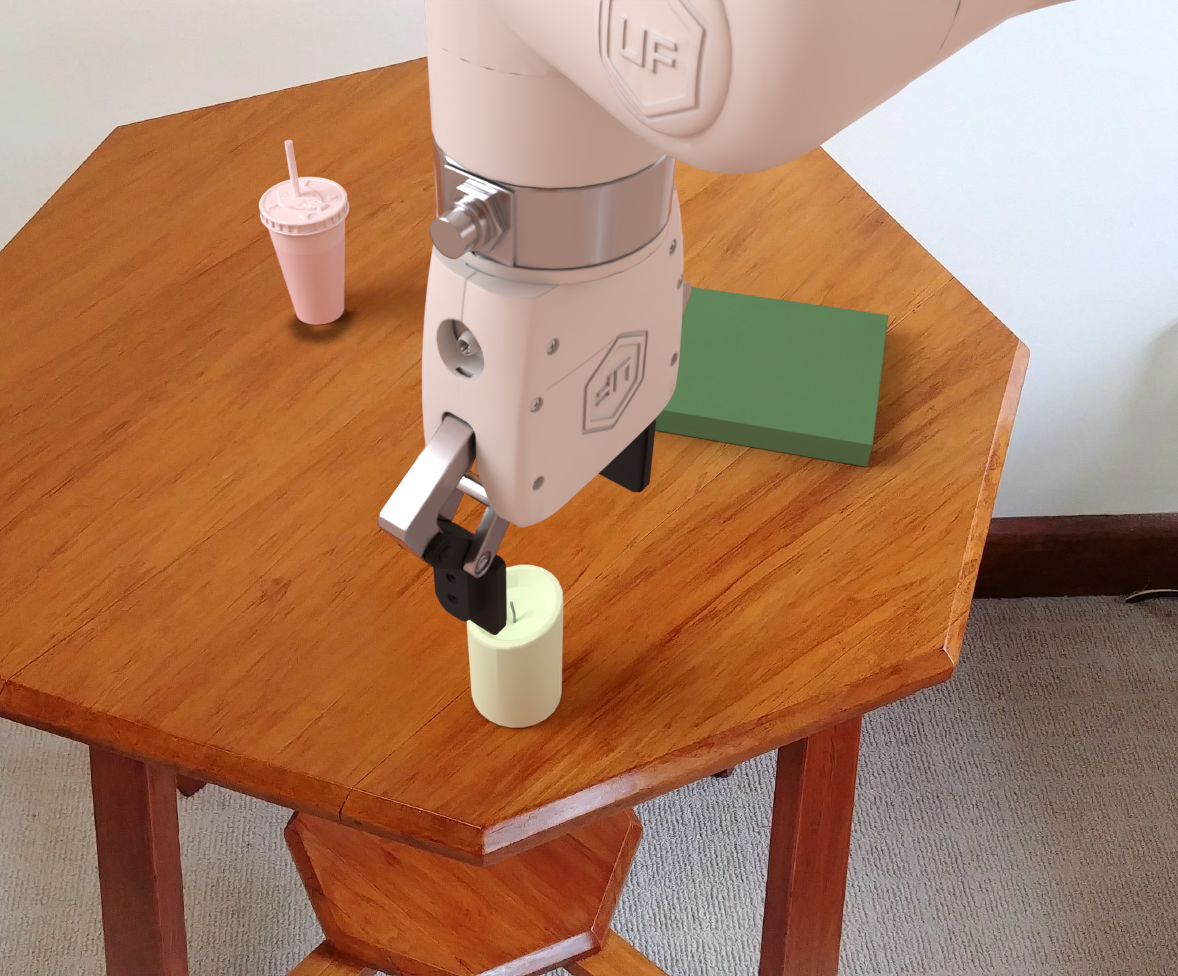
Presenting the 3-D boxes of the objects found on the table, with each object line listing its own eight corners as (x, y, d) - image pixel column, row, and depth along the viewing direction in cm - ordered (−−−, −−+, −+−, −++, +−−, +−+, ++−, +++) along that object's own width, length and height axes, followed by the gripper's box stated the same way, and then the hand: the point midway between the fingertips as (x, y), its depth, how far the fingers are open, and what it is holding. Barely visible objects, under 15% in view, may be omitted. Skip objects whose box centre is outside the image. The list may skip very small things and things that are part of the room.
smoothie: (315, 275, 98) (290, 112, 88) (379, 302, 95) (360, 136, 85) (260, 317, 94) (228, 152, 84) (325, 346, 91) (298, 178, 81)
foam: (883, 336, 89) (888, 314, 88) (867, 467, 80) (873, 444, 78) (610, 296, 94) (611, 274, 93) (565, 415, 85) (565, 393, 83)
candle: (492, 742, 66) (487, 647, 61) (457, 672, 70) (450, 577, 64) (576, 710, 68) (580, 615, 62) (538, 644, 71) (538, 547, 65)
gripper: (469, 364, 33) (483, 728, 45) (798, 102, 42) (735, 465, 54) (272, 263, 36) (335, 626, 48) (614, 42, 45) (595, 395, 57)
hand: (546, 541), depth 51 cm, fingers open, 9 cm apart
